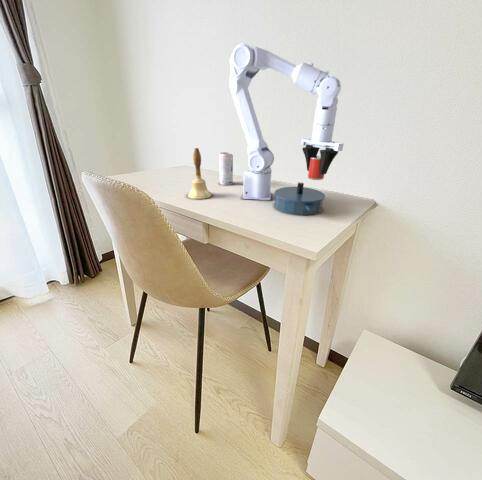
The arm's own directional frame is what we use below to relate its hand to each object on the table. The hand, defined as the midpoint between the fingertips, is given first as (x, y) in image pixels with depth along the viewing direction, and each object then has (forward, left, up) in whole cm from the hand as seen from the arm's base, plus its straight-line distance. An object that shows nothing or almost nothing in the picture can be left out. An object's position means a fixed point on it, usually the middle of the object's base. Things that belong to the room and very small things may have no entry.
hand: (316, 172), depth 81 cm
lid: (-5, -4, -6) cm, 9 cm away
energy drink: (-33, +19, -10) cm, 39 cm away
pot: (-5, -4, -10) cm, 12 cm away
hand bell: (-39, +1, -11) cm, 40 cm away
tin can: (0, 0, -2) cm, 2 cm away
